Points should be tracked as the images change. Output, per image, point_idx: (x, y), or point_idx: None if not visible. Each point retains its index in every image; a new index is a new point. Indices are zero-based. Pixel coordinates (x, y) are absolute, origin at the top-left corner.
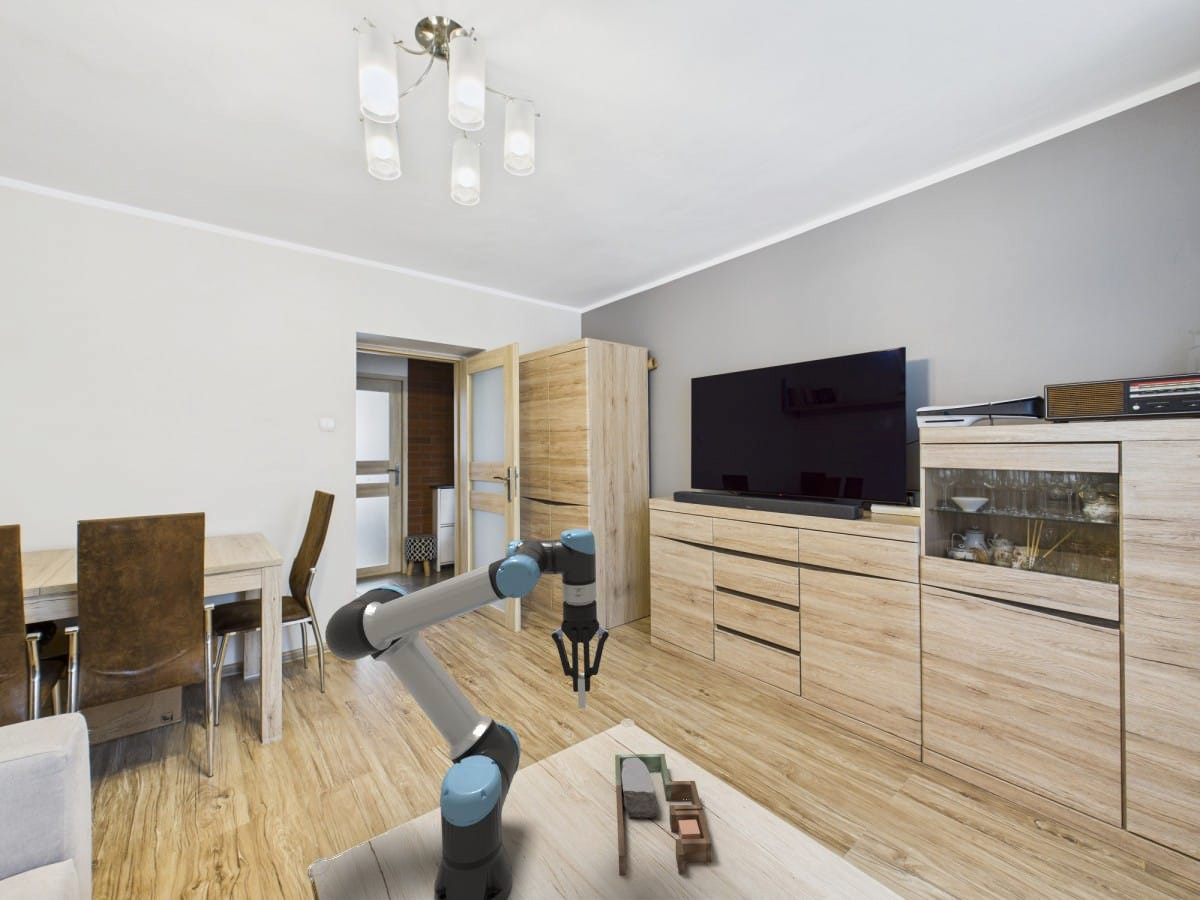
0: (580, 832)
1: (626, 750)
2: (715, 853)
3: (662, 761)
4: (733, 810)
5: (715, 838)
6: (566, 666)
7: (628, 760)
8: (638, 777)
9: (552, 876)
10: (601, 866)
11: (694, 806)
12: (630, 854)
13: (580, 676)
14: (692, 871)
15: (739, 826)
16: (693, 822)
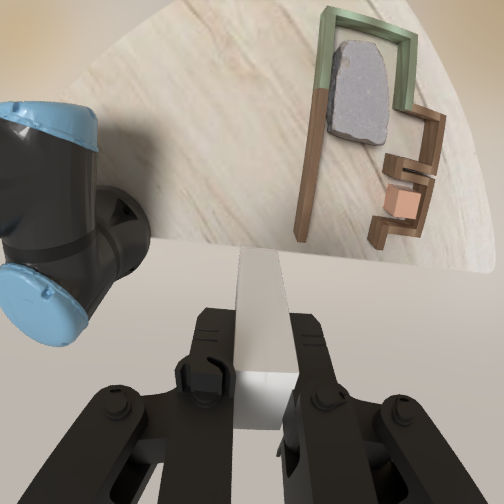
0: (243, 148)
1: None
2: None
3: (411, 51)
4: (463, 155)
5: None
6: (124, 497)
7: (355, 47)
8: (366, 99)
9: (201, 223)
10: (270, 214)
11: (428, 169)
12: (315, 200)
13: (251, 407)
14: None
15: (458, 182)
16: (415, 198)
